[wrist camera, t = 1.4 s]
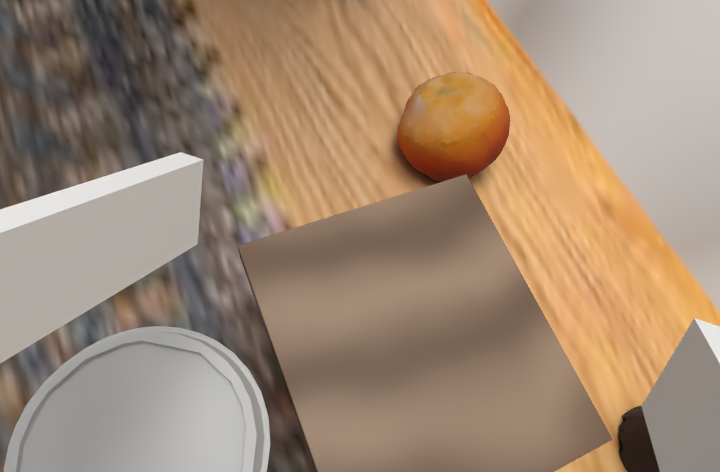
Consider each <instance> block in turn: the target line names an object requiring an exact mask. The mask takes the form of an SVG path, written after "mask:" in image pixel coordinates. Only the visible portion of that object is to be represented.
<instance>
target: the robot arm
mask: <svg viewBox="0 0 720 472" xmlns="http://www.w3.org/2000/svg"><path fill="white" fill-rule="evenodd" d="M202 173H203V159H200V158H197V157H194V156H191V155H188V154H184V153H181V152H180V153H177V154H174V155H170V156H167V157H164V158H161V159H158V160H155V161H151V162H148V163H145V164H142V165H139V166H136V167H133V168H129V169H126V170H123V171H120V172H117V173H114V174H110V175H107V176H104V177H101V178H98V179H95V180H92V181H88V182H85V183H82V184H79V185H76V186H73V187H70V188H66V189H63V190H60V191H57V192H54V193H51V194H47V195H44V196H41V197H38V198H35V199H32V200H29V201H25V202H22V203H19V204H16V205H13V206H9V207H6V208H3V209H0V363H2V362H3V361H5V360H7V359H8V358H10V357H12V356H13V355H15V354H17V353H18V352H20V351H22V350H23V349H25V348H27V347H28V346H30V345H31V344H33V343H35V342H36V341H38V340H40V339H41V338H43V337H45V336H46V335H48V334H50V333H51V332H53V331H55V330H56V329H58V328H60V327H61V326H63V325H65V324H66V323H68V322H70V321H71V320H73V319H75V318H76V317H78V316H79V315H81V314H83V313H84V312H86V311H88V310H89V309H91V308H93V307H94V306H96V305H98V304H99V303H101V302H103V301H104V300H106V299H108V298H109V297H111V296H113V295H114V294H116V293H118V292H119V291H121V290H123V289H124V288H126V287H128V286H129V285H131V284H132V283H134V282H136V281H137V280H139V279H141V278H142V277H144V276H146V275H147V274H149V273H151V272H152V271H154V270H156V269H157V268H159V267H161V266H162V265H164V264H166V263H167V262H169V261H171V260H172V259H174V258H176V257H177V256H179V255H180V254H182V253H184V252H185V251H187V250H189V249H190V248H192V247H194V246H195V245H197V244H198V230H199V216H200V202H201V187H202ZM642 410H643V414H644V417H645V421H646V424H647V428H648V431H649V435H650V438H651V442H652V445H653V449H654V452H655V456H656V459H657V463H658V467H659V470H660V472H720V326H717V325H713V324H710V323H707V322H704V321H701V320H698V319H695V318H694V320H693V321H692V323H691V325H690V326H689V328H688V330H687V331H686V333H685V335H684V336H683V338H682V340H681V341H680V343H679V345H678V346H677V348H676V350H675V351H674V353H673V355H672V356H671V358H670V360H669V361H668V363H667V365H666V366H665V368H664V370H663V371H662V373H661V375H660V376H659V378H658V380H657V381H656V383H655V385H654V386H653V388H652V390H651V392H650V393H649V395H648V397H647V398H646V400H645V402H644V403H643V405H642Z"/></svg>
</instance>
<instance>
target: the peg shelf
mask: <svg viewBox="0 0 720 472" xmlns="http://www.w3.org/2000/svg"><path fill="white" fill-rule="evenodd" d="M238 248H239V254H240V258H241V261H242V264H243V267H244V269H245V272H246V275H247V278H248V281H249V284H250V286H251V289H252V292H253V295H254V298H255V301H256V303H257V306H258V309H259V312H260V315H261V318H262V320H263V323H264V326H265V329H266V332H267V335H268V337H269V340H270V343H271V346H272V349H273V352H274V354H275V357H276V360H277V363H278V366H279V369H280V371H281V374H282V377H283V380H284V383H285V386H286V388H287V391H288V394H289V397H290V400H291V403H292V406H293V408H294V411H295V414H296V417H297V420H298V423H299V425H300V428H301V431H302V434H303V437H304V440H305V442H306V445H307V448H308V451H309V454H310V457H311V459H312V462H313V465H314V468H315V471H316V472H554V471H556V470H558V469H560V468H561V467H563V466H565V465H567V464H569V463H570V462H572V461H574V460H576V459H578V458H580V457H581V456H583V455H585V454H587V453H589V452H591V451H592V450H594V449H596V448H598V447H600V446H601V445H603V444H605V443H607V442H609V441H611V440H612V437H611V436H610V434H609V432H608V430H607V428H606V427H605V425H604V423H603V421H602V419H601V417H600V416H599V414H598V412H597V410H596V408H595V407H594V405H593V403H592V401H591V399H590V398H589V396H588V394H587V392H586V390H585V389H584V387H583V385H582V383H581V381H580V379H579V378H578V376H577V374H576V372H575V370H574V369H573V367H572V365H571V363H570V361H569V360H568V358H567V356H566V354H565V352H564V350H563V349H562V347H561V345H560V343H559V341H558V340H557V338H556V336H555V334H554V332H553V331H552V329H551V327H550V325H549V323H548V321H547V320H546V318H545V316H544V314H543V312H542V311H541V309H540V307H539V305H538V303H537V302H536V300H535V298H534V296H533V294H532V292H531V291H530V289H529V287H528V285H527V283H526V282H525V280H524V278H523V276H522V274H521V273H520V271H519V269H518V267H517V265H516V264H515V262H514V260H513V258H512V256H511V254H510V253H509V251H508V249H507V247H506V245H505V244H504V242H503V240H502V238H501V236H500V235H499V233H498V231H497V229H496V227H495V225H494V224H493V222H492V220H491V218H490V216H489V215H488V213H487V211H486V209H485V207H484V206H483V204H482V202H481V200H480V198H479V196H478V195H477V193H476V191H475V189H474V187H473V186H472V184H471V182H470V180H469V178H468V177H467V175H466V174H465V175H462V176H459V177H456V178H453V179H449V180H446V181H443V182H440V183H437V184H434V185H430V186H427V187H424V188H421V189H418V190H414V191H411V192H408V193H405V194H402V195H399V196H395V197H392V198H389V199H386V200H383V201H379V202H376V203H373V204H370V205H367V206H364V207H360V208H357V209H354V210H351V211H348V212H344V213H341V214H338V215H335V216H332V217H329V218H325V219H322V220H319V221H316V222H313V223H309V224H306V225H303V226H300V227H297V228H294V229H290V230H287V231H284V232H281V233H278V234H275V235H271V236H268V237H265V238H262V239H259V240H255V241H252V242H249V243H246V244H243V245H240V246H238Z"/></svg>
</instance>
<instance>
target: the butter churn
mask: <svg viewBox="0 0 720 472" xmlns="http://www.w3.org/2000/svg"><path fill="white" fill-rule="evenodd" d="M623 419H624V422H623V423H622V425H621V428H620V430H621V431H620V433H619V438H620V440H621V448H620V454H621V459H622V461H623V462H624V466H625V467H626V469H627V471H628V472H660V470H659V467H658V463H657V459H656V456H655V452H654V449H653V445H652V442H651V438H650V435H649V431H648V428H647V424H646V421H645V417H644V414H643V410H642V406H639V407H636V408H634V409H631V410H630V411H629V412H627V413H626V414H624V415H623Z"/></svg>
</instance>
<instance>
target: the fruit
mask: <svg viewBox="0 0 720 472" xmlns="http://www.w3.org/2000/svg"><path fill="white" fill-rule="evenodd" d="M509 127H510V115H509V110H508V107H507V106H506V104H505V101H504V99H503V96H502V94H501V93H500V92H499V90H498V89H497V88H496V87H495V86H494V85H493V84H491V83H489V82H488V81H487V80H485V79H483V78H481V77H478V76H473V75H471V74H469V73H463V72H462V73H456V72H452V73H448V74H445V75H442V76H438V77H434V78H432V79H430V80H428V81H426V82H424V83H423V84H421V85H419V86H418V87H417V88H416V89H415V91H414V93H413V94H412V96H411V97H410V98H409V99H408V101H407V103H406V107H405V110H404V114H403V116H402V119H401V121H400V124H399V126H398V133H397V136H398V144H399V147H400V149H401V151H402V152H403V153H404V155H405V156H406V158H407V160H408V162H409V163H410V164H411V165H412V166H413V167H414V168H415V169H416V170H418V171H420V172H421V173H423V174H425V175H427V176H428V177H430V178H432V179H433V180H436V181H442V182H443V181H446V180H449V179H453V178H456V177H459V176H462V175H465V174H466V175H467V177H468V178H470V177H472V176H473V175H475V174H477V173H479V172H480V171H482V170H483V169H485V168H486V167H487V166H488V165H489V164H491V163H492V162H493V161H495V160H496V158H497V157H498V156H499V154H500V153H501V151H502V149H503V147H504V145H505V143H506V141H507V138H508V134H509Z"/></svg>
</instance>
